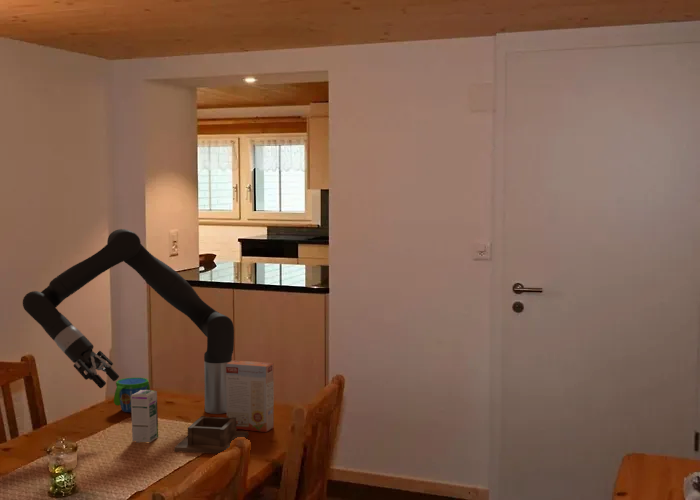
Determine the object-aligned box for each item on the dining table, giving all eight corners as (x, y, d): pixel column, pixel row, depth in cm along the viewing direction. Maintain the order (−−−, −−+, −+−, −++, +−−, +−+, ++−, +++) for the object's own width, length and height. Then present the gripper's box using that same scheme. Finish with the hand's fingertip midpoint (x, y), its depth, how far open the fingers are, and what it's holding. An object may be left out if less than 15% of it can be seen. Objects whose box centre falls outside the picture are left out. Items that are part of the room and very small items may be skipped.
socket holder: (195, 432, 231) (194, 413, 231) (248, 435, 229) (248, 415, 229) (174, 451, 215) (174, 430, 214) (231, 454, 212) (231, 433, 212)
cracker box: (274, 427, 237) (274, 362, 236) (266, 433, 232) (266, 366, 230) (235, 423, 242) (234, 359, 240) (225, 428, 236) (225, 362, 235)
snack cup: (139, 402, 265) (138, 374, 265) (160, 407, 260) (160, 378, 259) (103, 413, 252) (103, 383, 251) (125, 418, 246) (125, 387, 246)
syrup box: (149, 443, 221) (149, 395, 220) (131, 442, 223) (130, 394, 222) (158, 437, 227) (157, 390, 226) (140, 436, 228) (139, 389, 227)
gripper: (69, 339, 218) (107, 379, 218) (93, 331, 232) (128, 368, 232) (53, 357, 220) (90, 397, 219) (77, 347, 234) (113, 385, 233)
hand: (110, 382), depth 225 cm, fingers open, 8 cm apart
